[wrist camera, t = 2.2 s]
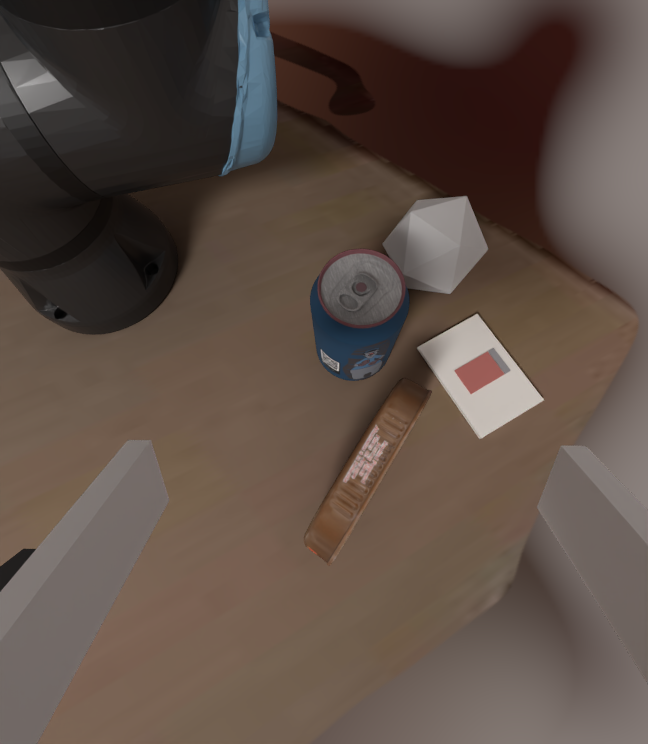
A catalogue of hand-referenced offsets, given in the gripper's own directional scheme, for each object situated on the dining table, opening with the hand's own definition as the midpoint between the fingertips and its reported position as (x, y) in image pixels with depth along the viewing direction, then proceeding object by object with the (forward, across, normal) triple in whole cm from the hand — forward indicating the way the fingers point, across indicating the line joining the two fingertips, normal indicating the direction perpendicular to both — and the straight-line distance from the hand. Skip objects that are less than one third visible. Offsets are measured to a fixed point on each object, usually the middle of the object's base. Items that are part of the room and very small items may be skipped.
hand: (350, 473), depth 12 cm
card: (+21, +13, -7) cm, 26 cm away
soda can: (+23, +1, -6) cm, 23 cm away
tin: (+15, +2, -14) cm, 20 cm away
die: (+29, +8, +1) cm, 30 cm away
